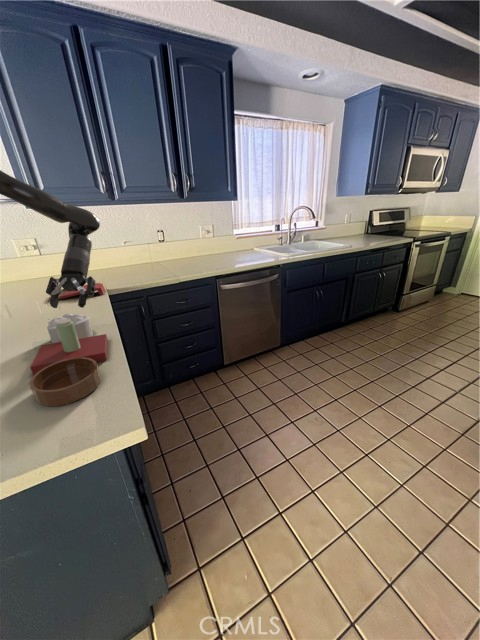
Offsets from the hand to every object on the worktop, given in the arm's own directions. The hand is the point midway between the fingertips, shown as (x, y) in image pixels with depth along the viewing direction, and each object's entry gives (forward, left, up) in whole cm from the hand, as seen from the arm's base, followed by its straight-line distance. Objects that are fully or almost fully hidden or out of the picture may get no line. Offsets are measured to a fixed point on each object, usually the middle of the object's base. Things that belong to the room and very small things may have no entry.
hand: (67, 306), depth 85 cm
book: (-1, -3, -16) cm, 17 cm away
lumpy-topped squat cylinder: (-3, +11, -16) cm, 20 cm away
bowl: (0, -21, -16) cm, 27 cm away
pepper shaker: (-1, -3, -13) cm, 14 cm away
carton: (-7, +67, -16) cm, 70 cm away
